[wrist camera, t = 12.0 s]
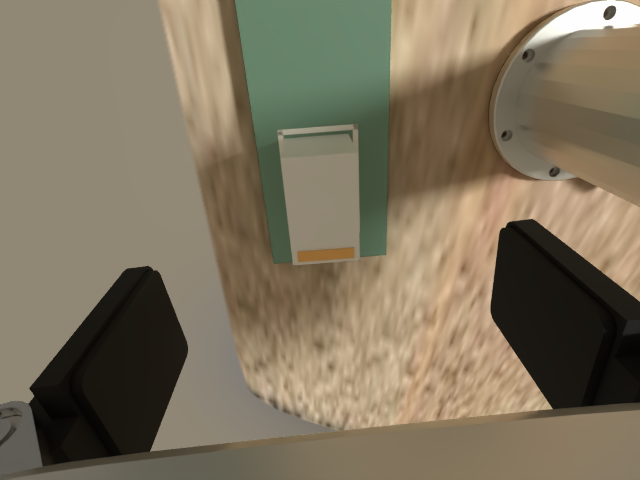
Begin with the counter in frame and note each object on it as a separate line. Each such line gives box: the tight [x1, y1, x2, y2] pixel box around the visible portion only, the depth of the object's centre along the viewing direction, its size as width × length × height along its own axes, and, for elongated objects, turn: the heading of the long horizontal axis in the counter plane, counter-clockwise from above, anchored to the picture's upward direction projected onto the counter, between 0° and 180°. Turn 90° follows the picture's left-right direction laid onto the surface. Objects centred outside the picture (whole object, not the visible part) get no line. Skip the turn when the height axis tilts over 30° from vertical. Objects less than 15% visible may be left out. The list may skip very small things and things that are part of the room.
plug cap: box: [280, 134, 360, 266], centre depth 27 cm, size 8×5×6 cm, turn 4°
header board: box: [235, 0, 391, 264], centre depth 28 cm, size 24×10×1 cm, turn 4°
